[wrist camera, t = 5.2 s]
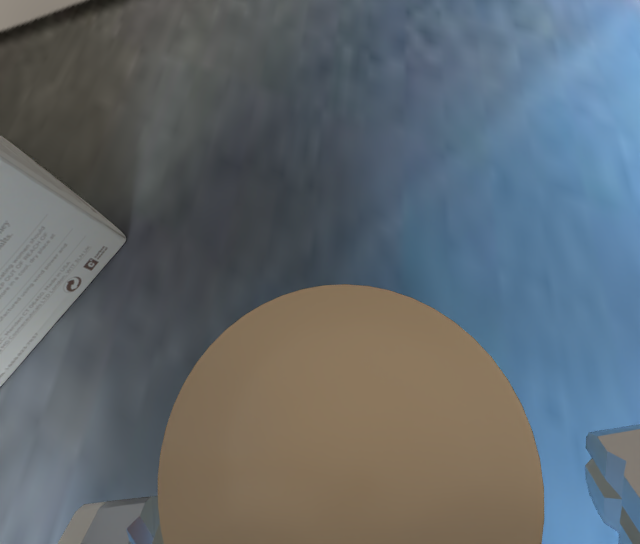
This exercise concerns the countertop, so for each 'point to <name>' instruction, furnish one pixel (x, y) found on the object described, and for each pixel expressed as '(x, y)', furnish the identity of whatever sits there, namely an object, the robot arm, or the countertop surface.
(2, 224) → the supplement box
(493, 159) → the countertop surface
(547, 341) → the countertop surface
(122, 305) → the countertop surface
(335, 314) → the jar
